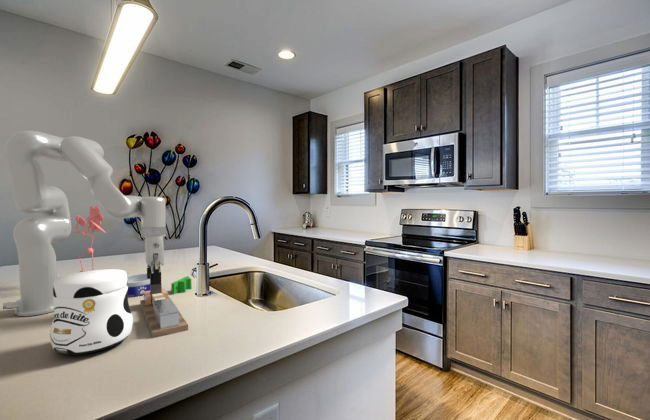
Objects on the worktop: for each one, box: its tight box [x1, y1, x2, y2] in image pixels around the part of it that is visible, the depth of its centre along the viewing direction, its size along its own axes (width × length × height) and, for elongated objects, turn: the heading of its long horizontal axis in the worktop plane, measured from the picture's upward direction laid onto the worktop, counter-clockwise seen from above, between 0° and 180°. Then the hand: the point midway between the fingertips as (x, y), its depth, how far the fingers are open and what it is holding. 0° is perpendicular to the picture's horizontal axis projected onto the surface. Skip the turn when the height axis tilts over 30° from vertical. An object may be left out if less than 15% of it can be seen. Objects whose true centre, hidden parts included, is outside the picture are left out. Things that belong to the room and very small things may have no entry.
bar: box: [150, 283, 165, 304], centre depth 108 cm, size 20×3×10 cm, turn 34°
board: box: [139, 295, 189, 339], centre depth 104 cm, size 34×9×2 cm, turn 34°
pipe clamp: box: [170, 276, 193, 295], centre depth 133 cm, size 11×4×5 cm, turn 173°
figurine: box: [75, 204, 107, 272], centre depth 146 cm, size 15×26×35 cm, turn 58°
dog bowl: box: [127, 272, 150, 299], centre depth 131 cm, size 15×15×6 cm
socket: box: [143, 287, 169, 305], centre depth 115 cm, size 7×7×3 cm
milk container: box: [49, 268, 134, 356], centre depth 84 cm, size 17×17×18 cm
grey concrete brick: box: [153, 297, 180, 329], centre depth 97 cm, size 15×5×4 cm, turn 34°
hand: (153, 281), depth 114 cm, fingers open, 9 cm apart
